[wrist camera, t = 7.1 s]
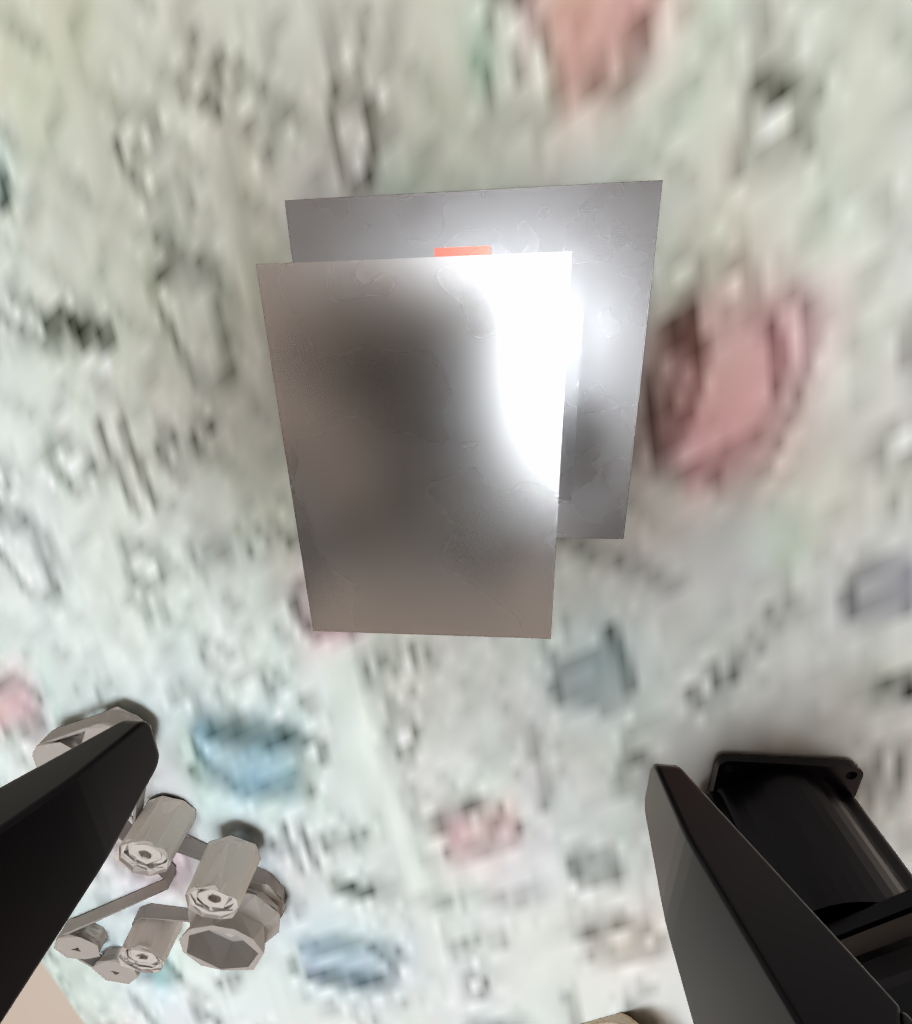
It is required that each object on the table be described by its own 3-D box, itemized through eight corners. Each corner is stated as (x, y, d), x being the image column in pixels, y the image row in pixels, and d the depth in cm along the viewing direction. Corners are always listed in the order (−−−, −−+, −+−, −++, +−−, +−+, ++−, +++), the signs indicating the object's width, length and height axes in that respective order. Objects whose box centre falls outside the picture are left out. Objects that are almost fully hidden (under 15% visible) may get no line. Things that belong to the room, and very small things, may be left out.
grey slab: (534, 292, 13) (575, 250, 6) (528, 486, 15) (553, 638, 8) (389, 297, 14) (253, 264, 6) (402, 485, 16) (311, 630, 8)
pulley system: (330, 740, 27) (57, 675, 26) (302, 824, 23) (-26, 750, 22) (271, 974, 38) (78, 935, 37) (245, 1060, 34) (26, 1019, 33)
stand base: (653, 188, 16) (692, 152, 12) (617, 528, 20) (640, 568, 17) (296, 207, 17) (247, 179, 13) (336, 525, 21) (305, 561, 18)
